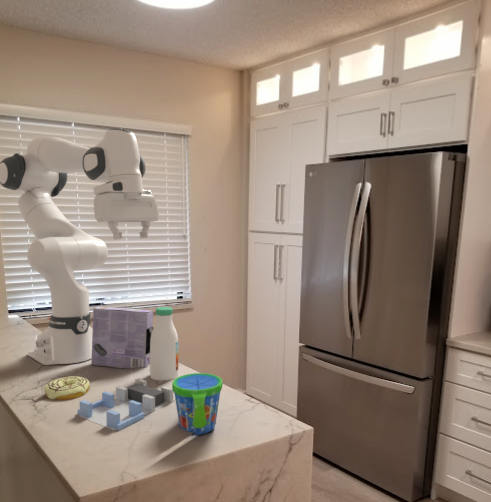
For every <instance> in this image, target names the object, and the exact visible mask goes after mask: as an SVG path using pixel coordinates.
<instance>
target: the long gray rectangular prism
mask: <svg viewBox="0 0 491 502" xmlns="http://www.w3.org/2000/svg"><path fill="white" fill-rule="evenodd" d="M125 388H128V399H130V400H134V401H136V402H139V403H142V396H143V395H145V394H147V395H150V396H153V397H155V407H156V406H158V405H160V404H162V403H164V392H163V391H161V389H157V388H152V387H149V386H144V385H140V384H137V383H136V384H135V383H133V384H131V385H129V386H126V387H125Z"/></svg>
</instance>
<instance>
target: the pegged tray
mask: <svg viewBox="0 0 491 502" xmlns="http://www.w3.org/2000/svg"><path fill="white" fill-rule="evenodd" d="M136 383H137V384H140V385H144V386H147V384H148V383H147V380H145V379H141V378H135V379H134V384H136ZM147 387H148V386H147ZM160 391H163V392H164V403H162V404H160V405H158V406H156V407H155V397H153V396H150V395H147V394H145V395H143V396H142V403H139V402H136V401H134V400H130V399H128V388H126V387H124V386H120V385H119V386H115V393H112V392H110V391H107V390H106V391H103V392H102V393H101V398H102V399H100V400H97V401H95V402H90V401H87V400H86V399H82V400H80V401H79V408H77V417H80V418H83V419H85V420H87V421H90V422H92V423H95V424H98V425H100V426H103V427H105V428H106V429H110V430H112V431H121V430H123V429H125V428H126V427H129V426H131V425H133V424H135V423H137V422H139V421H141V420H143V419H145V416H147V415H148V414H151V413H152V412H155V411H156V410H159V409H161V408H163V407H165V406H167V405H169V404H171V403H173V402H176V401H175V400H174V392H173V389H172V387H168V386H165V385H163V386H161V387H160Z"/></svg>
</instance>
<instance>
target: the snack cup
mask: <svg viewBox="0 0 491 502" xmlns="http://www.w3.org/2000/svg"><path fill="white" fill-rule="evenodd" d="M171 384H172V386H171V388H172V389H173V395H174V399H175V401H174V402H175V406H176V407H175V408H176V412H177V419H178V424H179V425H178V426H179V428H180V429H182V430H184V431H186V432H189V433H192V435H195V436H200V435H203V434H207V433H209V432H211V431H214V429H215V426H216V422H217V417H218V411H219V403H220V396H221V392H222V389H223V385H224V384H223V379H222V378H221V377H220V376H218V375H216V374H212V373H204V372H203V373H202V372H198V373H197V372H196V373H187V374H183V375H180V376H178V377H176V378H174V379H173V381H172V382H171Z"/></svg>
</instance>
